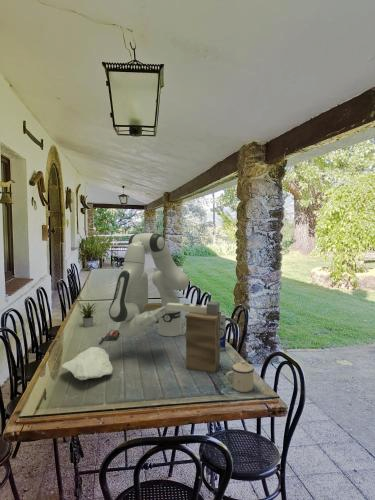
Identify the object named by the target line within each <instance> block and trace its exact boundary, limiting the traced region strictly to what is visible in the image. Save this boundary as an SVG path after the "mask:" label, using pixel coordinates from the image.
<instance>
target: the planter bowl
mask: <svg viewBox="0 0 375 500" xmlns="http://www.w3.org/2000/svg"><path fill="white" fill-rule="evenodd" d="M144 307H145V312H148V311H151V310H152V311H153V310H156V309H158V308H161V307H162V305H161V302H150V303H149V302H148V304H146V305H144ZM160 318H161V317H160ZM160 318H159V319H160ZM159 319H158V321H157V322H156V323H159Z"/></svg>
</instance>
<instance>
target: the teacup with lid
mask: <svg viewBox="0 0 375 500" xmlns="http://www.w3.org/2000/svg"><path fill="white" fill-rule="evenodd" d="M254 371H255V368H254V366H253V365H252V364H250V363H247V362H246V360H241V361H240V362H236V363H235V364H233V365H232V370H231V371H228V372H226V374H225V380H226V381H227V382H228V383H229V384H232V388H233V389H234V390H235V391H237V392H242V393H248V392H250V391H252V390H253V389H254ZM229 375H232V380H230V379H228V377H229Z"/></svg>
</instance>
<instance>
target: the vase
mask: <svg viewBox="0 0 375 500" xmlns="http://www.w3.org/2000/svg"><path fill="white" fill-rule="evenodd" d="M127 302H129V303H135V304H136V305H137V306H138V308H139V311H140V314H142V313H144V312H145V307H144V305H146V304H149V275H148V272H146V271H145V270H144V271H143V274H142V276H141V277H140V278H138V279H137V280H134V281H133V282H132V283H131V284H130V285H129V287H128V291H127V295H126V300H125V303H127Z"/></svg>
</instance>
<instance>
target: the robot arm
mask: <svg viewBox="0 0 375 500" xmlns="http://www.w3.org/2000/svg"><path fill="white" fill-rule="evenodd" d="M127 244H128V245H127V247H126V250H125V256H124V259H123V260H124V262H123V265H122V270H121V272H120V274H119V275H118V278H117V282H116V286H115V291H114V294H113V299H112V302H111V303H110V306H109V308H108V314H109V318H110V319H111V321H113V323H119V327H118V328H117V330H118V331H119V333H120V336H121V337H122V338H124V339H131V338H134V337H136V336H138V335H139V334H142V332H146V331H148V330H150V329H152V328H153V327H154V326H155V324H156V323H158V326H157V327H158V329H156V331H155V332H156V333H158V334H159V335H160V336H163V337H178V336H184V335H185V336H186V325H185V324H184V323H185V321H184V318H183V317H182V316H181V314H182V313H181V312H180V311H168V310H166V304H168V303H180V297H179V296H178V295H177V294H176V293H175V291H183V290H184V291H185V290H186V289H187V288H188V287H189V284H190V278H189V276H188V275H187V274H186V273H185V272H183V271H182V270H181V269H180V268H179V267H178V265H177V264H176V262H175V260H174V258H173V256H172V253H171V251H170V248H169V245H168V243H167V242H166V240H165V238H164V236H163V235H162V234H160V233H157V232H154V233H153V232H141V233H134V234H132V235H130V237H129V239H128V243H127ZM146 253H150V255H151V258H152V261H153V263H154V266H155V268H156V269H157V271H155V272H154V273H153V275H152V278H151V281H152V283H153V285H154V287H156V289H157V290H158V293H159V296H160V299H161V301H160V303H161V305H162V307H161V308H158V309H156V310H153V311H152V310H151V311H148V312H144V313H142V314H140V311H139V308H138V306H137V305H136V304H135V303H129V302H127V303H125V300H126V295H127V291H128V287H129V285H130V284H131V283H132V282H133V281H134V280H137V279H138V278H140V277H141V276H142V274H143V271H145V262H146ZM160 317H161V318H160ZM159 318H160V319H159ZM158 319H159V322H157V321H158Z"/></svg>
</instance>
